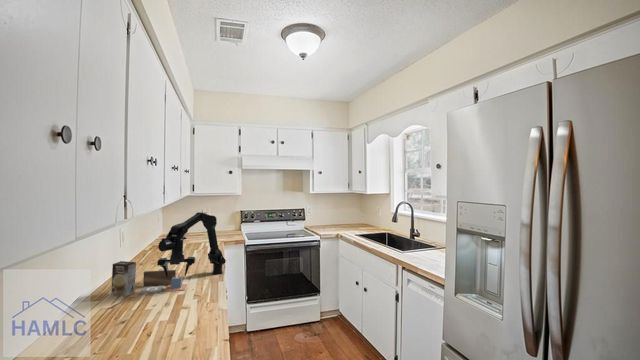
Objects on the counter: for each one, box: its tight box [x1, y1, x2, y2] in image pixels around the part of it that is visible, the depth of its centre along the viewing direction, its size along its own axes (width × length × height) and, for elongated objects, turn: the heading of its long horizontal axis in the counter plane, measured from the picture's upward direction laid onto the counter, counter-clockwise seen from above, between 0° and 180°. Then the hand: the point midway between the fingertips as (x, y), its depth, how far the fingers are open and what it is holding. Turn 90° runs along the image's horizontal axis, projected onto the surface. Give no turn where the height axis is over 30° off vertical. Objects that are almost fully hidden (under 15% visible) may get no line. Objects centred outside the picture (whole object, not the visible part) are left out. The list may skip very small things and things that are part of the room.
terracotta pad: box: [164, 283, 188, 293], centre depth 169 cm, size 10×10×1 cm
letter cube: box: [171, 276, 183, 289], centre depth 169 cm, size 5×5×5 cm
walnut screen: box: [142, 269, 177, 288], centre depth 174 cm, size 2×16×8 cm, turn 107°
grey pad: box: [139, 285, 165, 295], centre depth 166 cm, size 10×10×1 cm
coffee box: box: [110, 260, 137, 297], centre depth 159 cm, size 9×6×16 cm
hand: (176, 276), depth 169 cm, fingers open, 9 cm apart
